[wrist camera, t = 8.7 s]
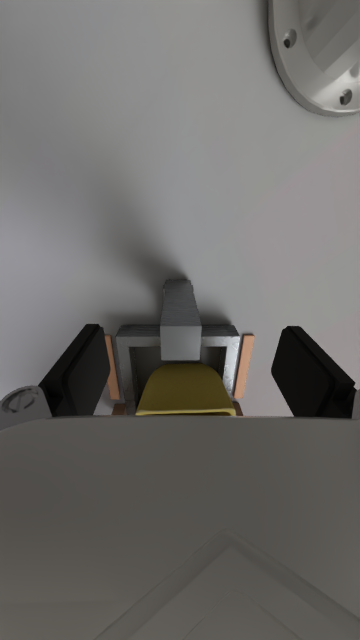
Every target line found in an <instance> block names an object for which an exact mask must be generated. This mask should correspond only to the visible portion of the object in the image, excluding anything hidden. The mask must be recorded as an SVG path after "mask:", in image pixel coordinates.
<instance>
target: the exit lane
mask: <svg viewBox="0 0 360 640" xmlns="http://www.w3.org/2000/svg"><path fill="white" fill-rule="evenodd" d="M254 337H255V336H254V335H244V337H243V343H242V349H241V355H240V361H239V367H238V373H237V379H236V385H235V391H234V398H243V394H244V389H245V384H246V379H247V373H248V368H249V363H250V358H251V353H252V347H253V342H254ZM105 340H106V346H107V351H108V356H109V361H110V367H111V370H110V375H109V377H108V379H107V380H108V386H109V391H110V397H111V400H114V399H120V393H119V386H118V380H117V373H116V367H115V360H114V354H113V347H112V341H111V335H105Z"/></svg>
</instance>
